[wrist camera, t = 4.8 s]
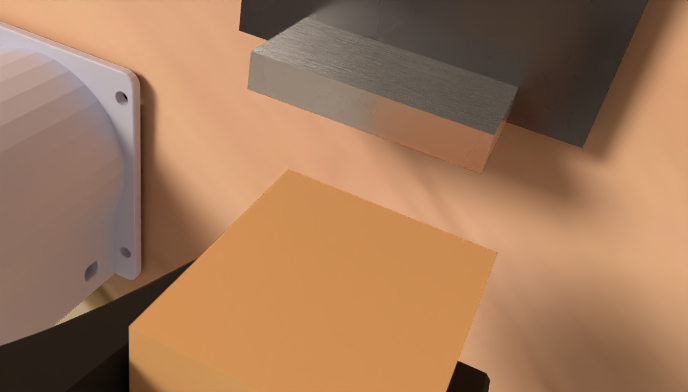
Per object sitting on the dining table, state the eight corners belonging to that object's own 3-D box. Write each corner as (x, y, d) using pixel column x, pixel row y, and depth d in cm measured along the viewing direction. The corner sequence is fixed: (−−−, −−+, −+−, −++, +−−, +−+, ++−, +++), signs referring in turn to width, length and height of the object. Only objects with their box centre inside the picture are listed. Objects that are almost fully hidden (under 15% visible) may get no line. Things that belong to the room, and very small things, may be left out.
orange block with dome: (435, 399, 15) (338, 655, 10) (264, 320, 16) (107, 523, 11) (497, 252, 12) (402, 508, 8) (288, 169, 13) (100, 354, 9)
